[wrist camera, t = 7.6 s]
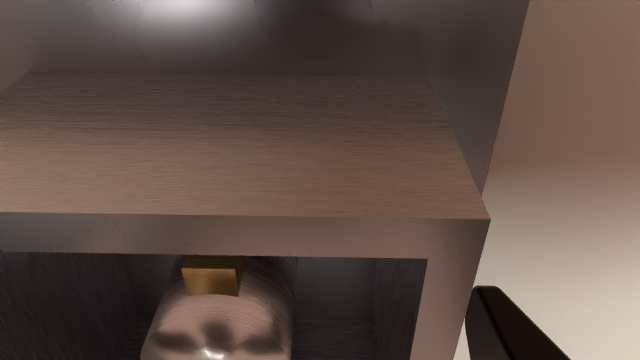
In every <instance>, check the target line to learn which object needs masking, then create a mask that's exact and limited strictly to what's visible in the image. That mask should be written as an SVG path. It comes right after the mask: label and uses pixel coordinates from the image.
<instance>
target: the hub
mask: <svg viewBox="0 0 640 360" xmlns="http://www.w3.org/2000/svg"><path fill="white" fill-rule="evenodd" d="M490 221H491V219H490V216H489V214H488V212H487V210H486V207H485V205H484V203H483V200H482V198H481V196H480V193H479V191H478V189H477V187H476V184H475V182H474V180H473V177H472V175H471V173H470V170H469V168H468V166H467V164H466V161H465V159H464V157H463V154H462V152H461V150H460V148H459V145H458V143H457V141H456V138H455V136H454V134H453V131H452V129H451V127H450V125H449V122H448V120H447V118H446V115H445V113H444V111H443V108H442V106H441V104H440V102H439V99H438V97H437V95H436V92H435V90H434V88H433V85H432V83H431V81H430V79H429V77H396V76H311V75H225V74H139V73H54V72H28V73H27V74H25V75H24V76H23V77H21V78H20V79H18V80H17V81H16V82H14V83H13V84H12V85H10V86H9V87H7V88H6V89H5V90H3V91H2V92H1V93H0V360H140V354H141V349H142V347H143V344H144V342H145V339H146V336H147V334H148V331H149V328H150V326H151V323H152V321H153V318H154V315H139V314H138V310H137V307H136V304H135V301H134V298H133V295H132V292H131V289H130V285H129V282H128V279H127V276H126V273H125V270H124V267H123V264H122V260H121V257H120V254H119V253H122V254H183V255H243V256H303V257H364V258H377V263H376V273H375V283H374V293H373V303H372V313H371V319H329V318H294V323H293V336H292V348H291V360H453V358H454V355H455V351H456V347H457V343H458V340H459V336H460V332H461V328H462V325H463V321H464V317H465V314H466V310H467V306H468V302H469V299H470V295H471V291H472V288H473V284H474V280H475V276H476V273H477V269H478V265H479V261H480V258H481V254H482V250H483V247H484V243H485V239H486V235H487V232H488V228H489V224H490Z"/></svg>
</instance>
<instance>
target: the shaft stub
mask: <svg viewBox="0 0 640 360" xmlns="http://www.w3.org/2000/svg"><path fill="white" fill-rule="evenodd" d="M528 4H529V0H0V93H1V92H2V91H3V90H5V89H6V88H7V87H9V86H10V85H12V84H13V83H14V82H16V81H17V80H18V79H20V78H21V77H23V76H24V75H25V74H27V73H28V72H54V73H139V74H225V75H311V76H396V77H429V79H430V81H431V83H432V85H433V88H434V90H435V92H436V95H437V97H438V99H439V102H440V104H441V106H442V108H443V111H444V113H445V115H446V118H447V120H448V122H449V125H450V127H451V129H452V131H453V134H454V136H455V138H456V141H457V143H458V145H459V148H460V150H461V152H462V154H463V157H464V159H465V161H466V164H467V166H468V168H469V170H470V173H471V175H472V177H473V180H474V182H475V184H476V187H477V189H478V191H479V193H480V196H482V192H483V188H484V184H485V180H486V176H487V171H488V167H489V163H490V159H491V155H492V151H493V147H494V143H495V139H496V135H497V131H498V127H499V122H500V118H501V114H502V110H503V106H504V102H505V98H506V94H507V90H508V86H509V82H510V78H511V73H512V69H513V65H514V61H515V57H516V53H517V49H518V45H519V41H520V37H521V33H522V29H523V24H524V20H525V16H526V12H527V8H528ZM119 254H120V257H121V260H122V264H123V267H124V270H125V273H126V276H127V279H128V282H129V285H130V289H131V292H132V295H133V298H134V301H135V304H136V307H137V310H138V314H139V315H154V318H153V321H152V323H151V326H150V328H149V331H148V334H147V336H146V339H145V342H144V344H143V347H142V349H141V354H140V360H291V348H292V336H293V323H294V318H329V319H371V313H372V303H373V293H374V283H375V273H376V263H377V258H364V257H303V256H243V255H183V254H122V253H119Z"/></svg>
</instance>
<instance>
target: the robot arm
mask: <svg viewBox="0 0 640 360" xmlns="http://www.w3.org/2000/svg"><path fill="white" fill-rule="evenodd" d="M465 329H466V335H467V341H468V347H469V353H470V360H571V359H570V358H569V357H568V356H567V355H566V354H565V353H564V352H563V351H562V350H561V349H560V348H559V347H558V346H557V345H556V344H555V343H554V342H553V341H552V340H551V339H550V338H549V337H548V336H547V335H546V334H545V333H544V332H543V331H542V330H541V329H540V328H539V327H538V326H537V325H536V324H535V323H534V322H533V321H532V320H531V319H530V318H529V317H528V316H527V315H526V314H525V313H524V312H523V311H522V310H521V309H520V308H519V307H518V306H517V305H516V304H515V303H514V302H513V301H512V300H511V299H510V298H509V297H508V296H507V295H506V294H505V293H504V292H503V291H502V290H501V289H500V288H498V287H496V286H475V287H474V288H473V289H472V292H471V296H470V299H469V303H468V307H467V311H466V315H465Z"/></svg>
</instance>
